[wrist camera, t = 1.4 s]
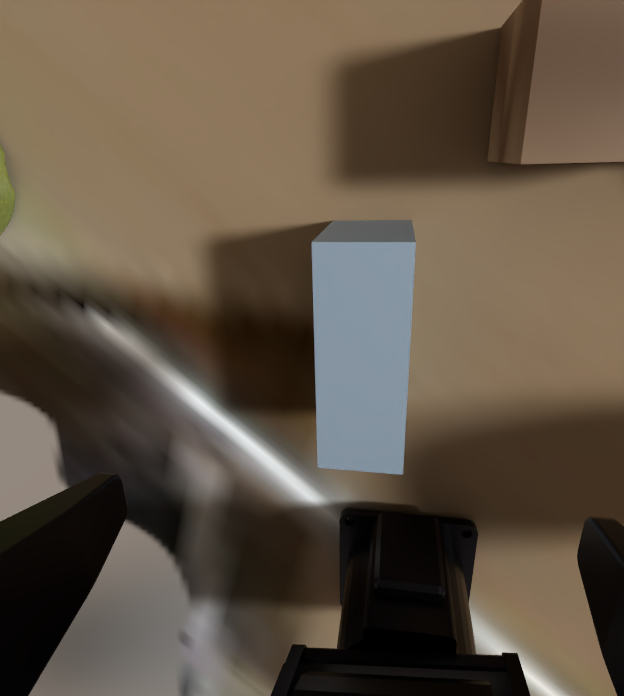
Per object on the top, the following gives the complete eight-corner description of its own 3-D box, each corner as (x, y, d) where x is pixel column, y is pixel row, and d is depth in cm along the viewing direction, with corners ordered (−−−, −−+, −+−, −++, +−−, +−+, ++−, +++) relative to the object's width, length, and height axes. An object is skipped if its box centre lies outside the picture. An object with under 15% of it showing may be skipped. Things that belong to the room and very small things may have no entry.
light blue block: (402, 404, 21) (402, 474, 16) (335, 400, 21) (317, 467, 17) (411, 219, 18) (416, 242, 13) (333, 220, 18) (311, 241, 14)
